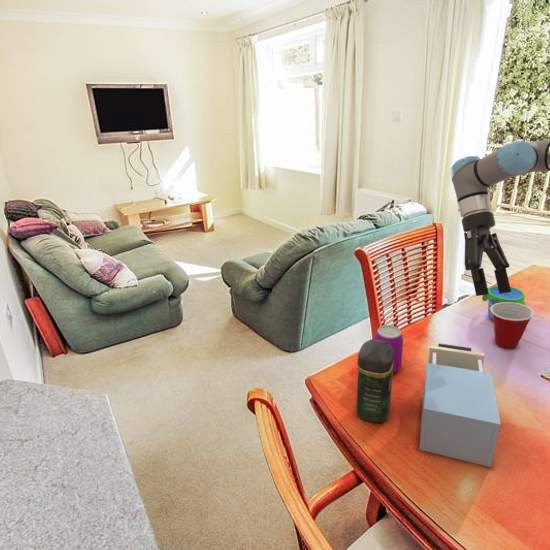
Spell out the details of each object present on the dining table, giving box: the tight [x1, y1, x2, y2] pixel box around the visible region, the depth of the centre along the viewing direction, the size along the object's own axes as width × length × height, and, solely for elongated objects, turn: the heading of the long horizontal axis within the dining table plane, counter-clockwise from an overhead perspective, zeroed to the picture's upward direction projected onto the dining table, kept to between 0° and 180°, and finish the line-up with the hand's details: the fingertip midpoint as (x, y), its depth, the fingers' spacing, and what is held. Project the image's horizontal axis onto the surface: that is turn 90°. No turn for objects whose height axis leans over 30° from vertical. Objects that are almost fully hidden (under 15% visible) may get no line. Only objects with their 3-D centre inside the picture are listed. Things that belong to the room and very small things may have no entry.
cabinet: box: [419, 362, 502, 468], centre depth 83 cm, size 16×14×12 cm
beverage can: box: [374, 324, 404, 373], centre depth 106 cm, size 8×8×12 cm
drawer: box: [427, 342, 486, 372], centre depth 94 cm, size 20×13×10 cm, turn 158°
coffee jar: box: [355, 338, 394, 423], centre depth 90 cm, size 10×8×19 cm
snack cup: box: [481, 285, 527, 322], centre depth 124 cm, size 16×10×10 cm
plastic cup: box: [490, 302, 535, 350], centre depth 111 cm, size 11×11×12 cm
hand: (494, 294), depth 96 cm, fingers open, 13 cm apart
